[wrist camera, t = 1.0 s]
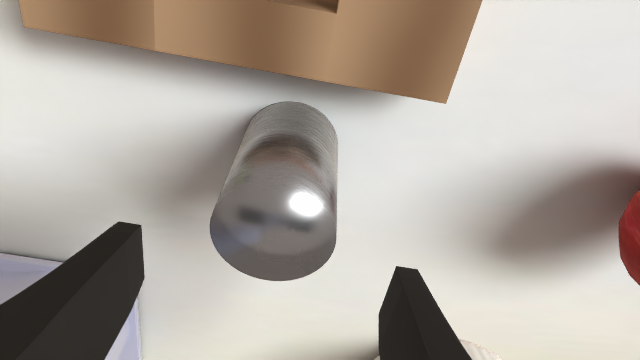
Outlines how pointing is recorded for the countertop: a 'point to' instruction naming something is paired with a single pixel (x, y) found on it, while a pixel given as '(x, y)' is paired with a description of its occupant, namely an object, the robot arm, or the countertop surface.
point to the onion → (631, 237)
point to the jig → (287, 36)
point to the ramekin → (474, 352)
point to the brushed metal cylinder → (280, 195)
